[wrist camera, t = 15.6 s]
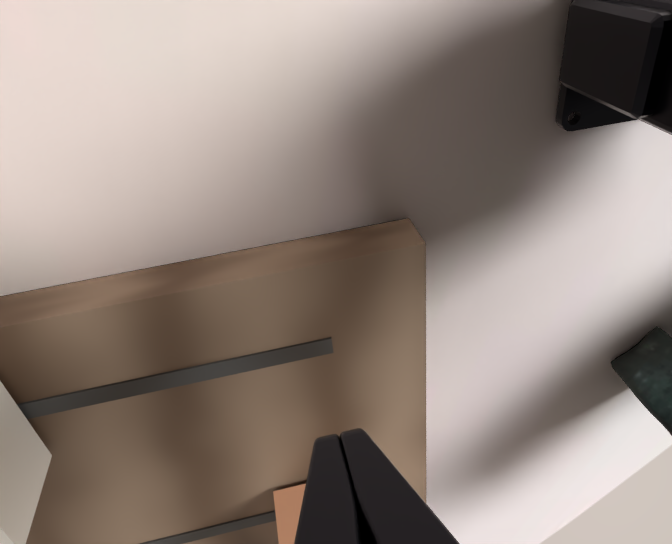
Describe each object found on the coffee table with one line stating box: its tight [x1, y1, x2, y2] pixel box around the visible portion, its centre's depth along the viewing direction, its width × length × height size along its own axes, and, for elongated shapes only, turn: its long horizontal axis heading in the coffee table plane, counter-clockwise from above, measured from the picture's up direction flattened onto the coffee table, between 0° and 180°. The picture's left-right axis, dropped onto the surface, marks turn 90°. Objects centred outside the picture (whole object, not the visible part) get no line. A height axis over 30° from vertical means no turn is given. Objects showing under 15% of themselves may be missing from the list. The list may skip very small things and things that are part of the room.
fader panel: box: [0, 218, 426, 544], centre depth 25 cm, size 21×20×2 cm
